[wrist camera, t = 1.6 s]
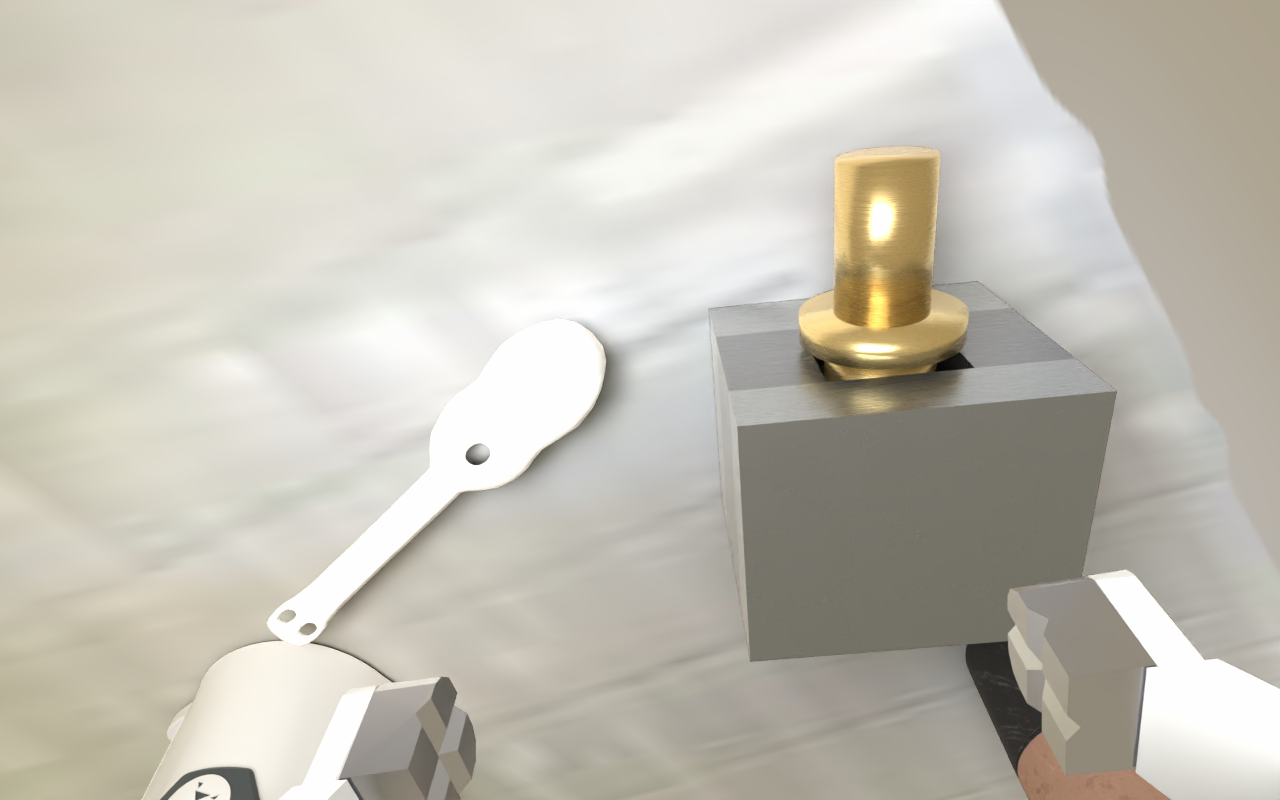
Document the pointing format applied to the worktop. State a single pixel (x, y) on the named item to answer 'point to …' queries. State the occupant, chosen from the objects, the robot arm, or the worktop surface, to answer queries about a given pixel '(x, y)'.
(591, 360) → the spatula
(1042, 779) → the travel mug
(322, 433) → the worktop surface
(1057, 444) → the housing
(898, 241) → the brass collar peg
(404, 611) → the worktop surface
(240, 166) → the worktop surface
